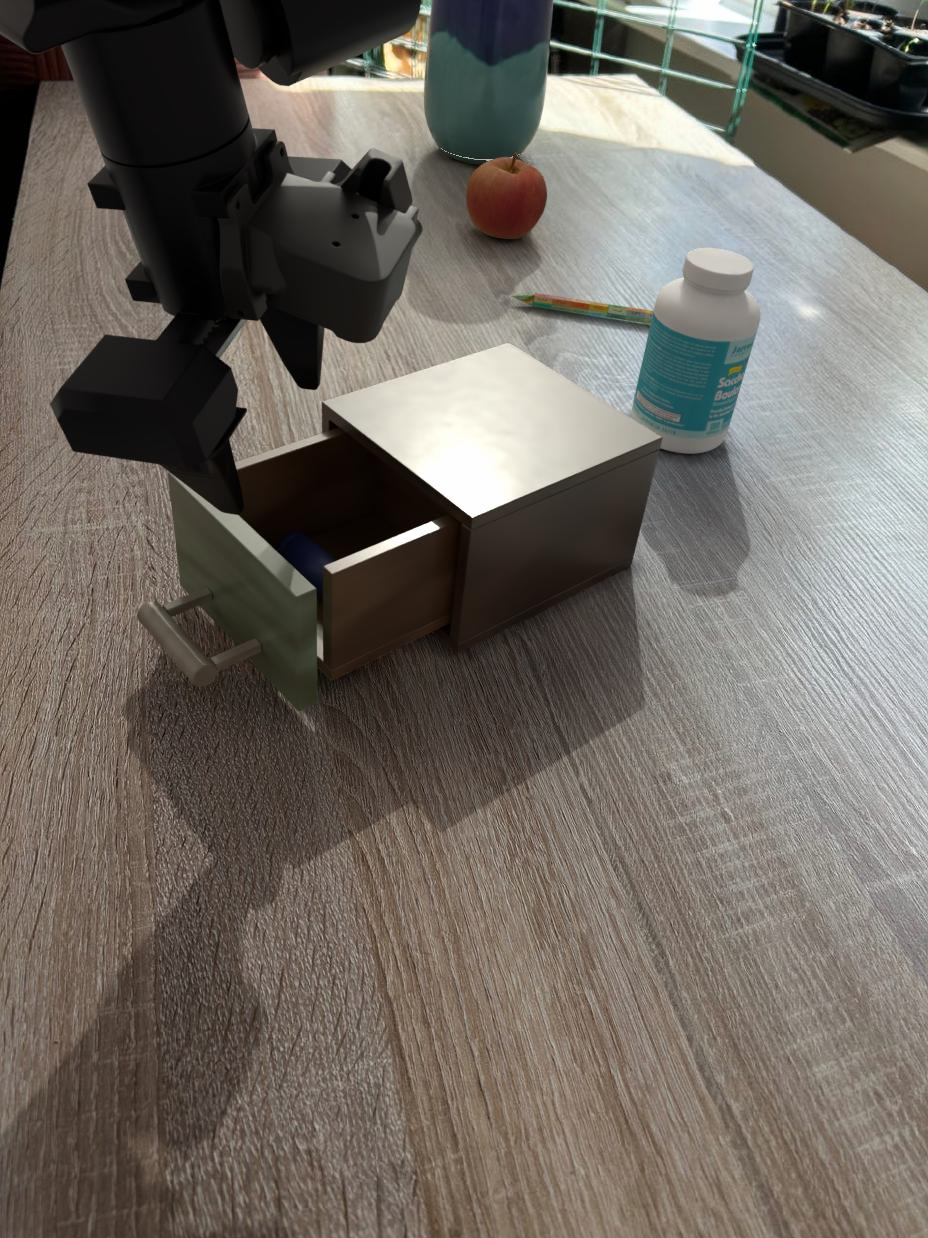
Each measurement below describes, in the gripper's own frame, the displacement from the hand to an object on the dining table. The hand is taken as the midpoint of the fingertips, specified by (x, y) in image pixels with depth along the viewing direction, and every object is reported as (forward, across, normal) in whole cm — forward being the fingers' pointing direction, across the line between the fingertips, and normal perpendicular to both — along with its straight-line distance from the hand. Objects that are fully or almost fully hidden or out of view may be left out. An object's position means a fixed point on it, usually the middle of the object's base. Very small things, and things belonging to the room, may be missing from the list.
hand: (273, 446), depth 52 cm
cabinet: (+16, +10, -6) cm, 19 cm away
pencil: (+24, +46, -6) cm, 52 cm away
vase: (+28, +82, +17) cm, 88 cm away
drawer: (+12, -1, +1) cm, 12 cm away
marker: (+10, 0, 0) cm, 10 cm away
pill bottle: (+22, +29, -15) cm, 40 cm away
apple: (+25, +60, +8) cm, 65 cm away
